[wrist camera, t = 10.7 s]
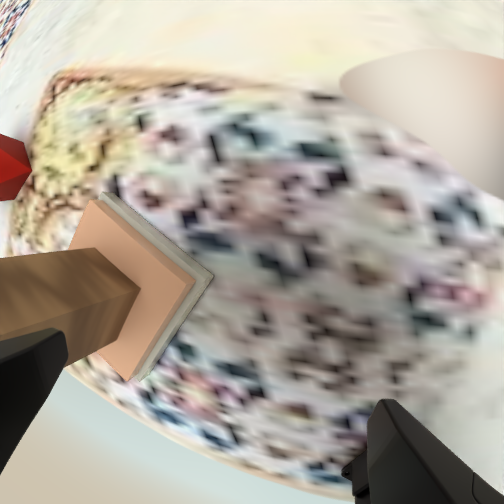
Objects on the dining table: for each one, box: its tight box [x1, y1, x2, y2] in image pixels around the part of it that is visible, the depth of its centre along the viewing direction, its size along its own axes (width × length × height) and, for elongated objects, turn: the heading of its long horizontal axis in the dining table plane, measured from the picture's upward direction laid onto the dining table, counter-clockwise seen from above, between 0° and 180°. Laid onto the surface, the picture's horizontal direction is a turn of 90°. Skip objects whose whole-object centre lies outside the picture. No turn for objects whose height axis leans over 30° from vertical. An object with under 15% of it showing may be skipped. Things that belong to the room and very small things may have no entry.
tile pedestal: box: [68, 192, 214, 382], centre depth 22 cm, size 11×11×3 cm
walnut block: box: [0, 247, 141, 367], centre depth 14 cm, size 5×5×13 cm
